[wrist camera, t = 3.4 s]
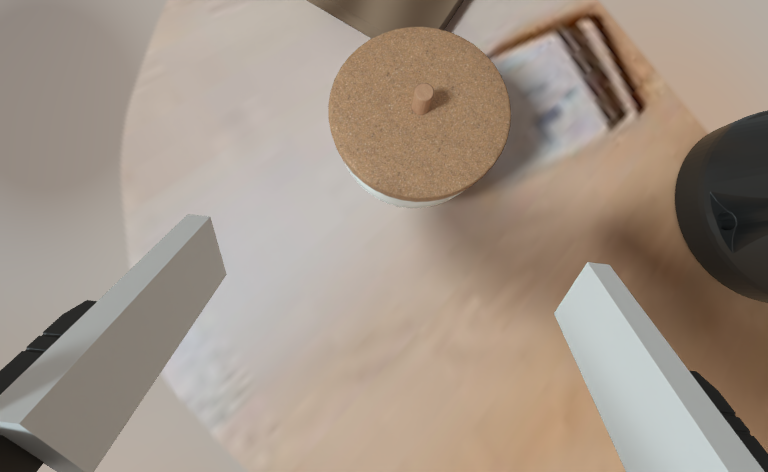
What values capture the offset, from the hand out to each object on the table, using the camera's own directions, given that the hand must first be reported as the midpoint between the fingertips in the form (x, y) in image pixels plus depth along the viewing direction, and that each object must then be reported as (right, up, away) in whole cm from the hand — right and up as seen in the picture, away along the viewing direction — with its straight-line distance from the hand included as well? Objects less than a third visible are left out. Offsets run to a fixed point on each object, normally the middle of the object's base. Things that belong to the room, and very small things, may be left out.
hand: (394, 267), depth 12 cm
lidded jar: (+2, +8, +15) cm, 17 cm away
